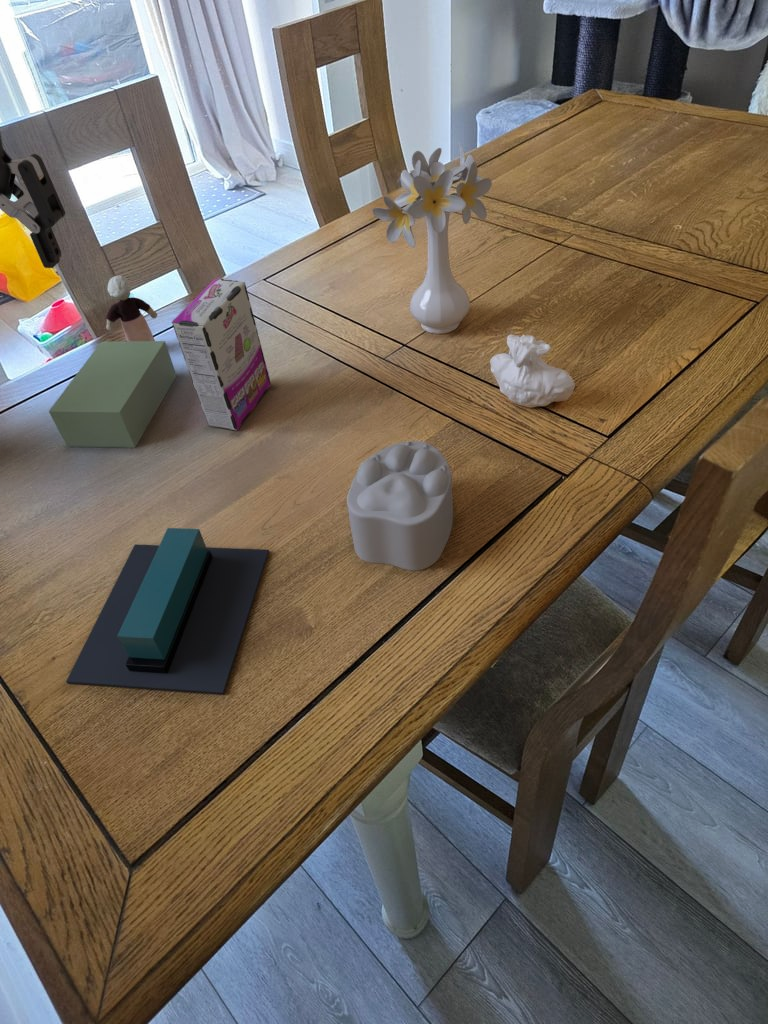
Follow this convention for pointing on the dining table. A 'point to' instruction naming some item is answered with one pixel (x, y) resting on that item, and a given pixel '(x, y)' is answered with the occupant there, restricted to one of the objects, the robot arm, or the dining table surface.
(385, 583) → the dining table surface
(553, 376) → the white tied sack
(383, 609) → the dining table surface
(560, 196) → the dining table surface
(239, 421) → the candy bar box
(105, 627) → the mat
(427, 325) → the flower vase
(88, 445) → the stand
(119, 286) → the grandmother figurine
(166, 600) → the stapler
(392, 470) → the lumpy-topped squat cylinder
